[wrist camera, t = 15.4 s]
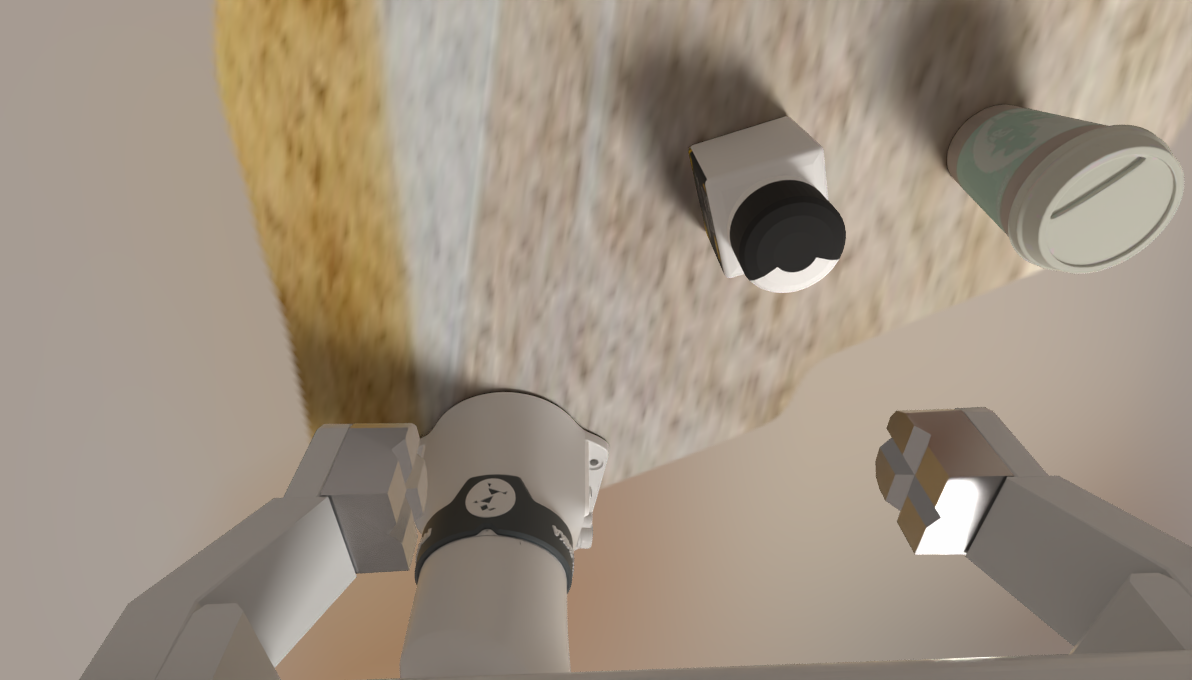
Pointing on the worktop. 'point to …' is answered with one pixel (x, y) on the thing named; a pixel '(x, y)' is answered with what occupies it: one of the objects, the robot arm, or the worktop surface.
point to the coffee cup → (1067, 185)
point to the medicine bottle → (768, 205)
